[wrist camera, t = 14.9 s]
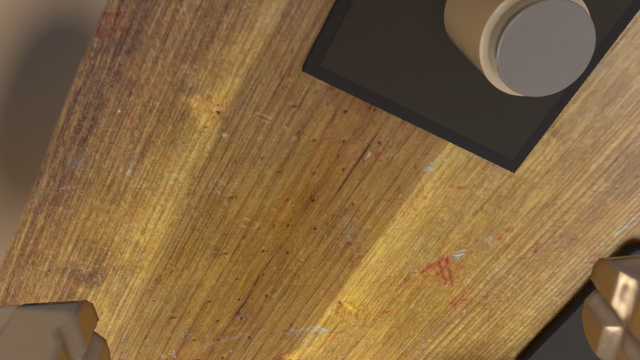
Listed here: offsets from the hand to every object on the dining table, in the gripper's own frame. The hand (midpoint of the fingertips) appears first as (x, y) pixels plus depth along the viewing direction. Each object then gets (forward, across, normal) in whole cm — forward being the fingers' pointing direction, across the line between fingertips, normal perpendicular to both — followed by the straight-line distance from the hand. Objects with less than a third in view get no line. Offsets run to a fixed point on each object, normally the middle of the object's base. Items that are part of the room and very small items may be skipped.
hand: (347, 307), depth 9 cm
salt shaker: (+24, -11, +1) cm, 27 cm away
